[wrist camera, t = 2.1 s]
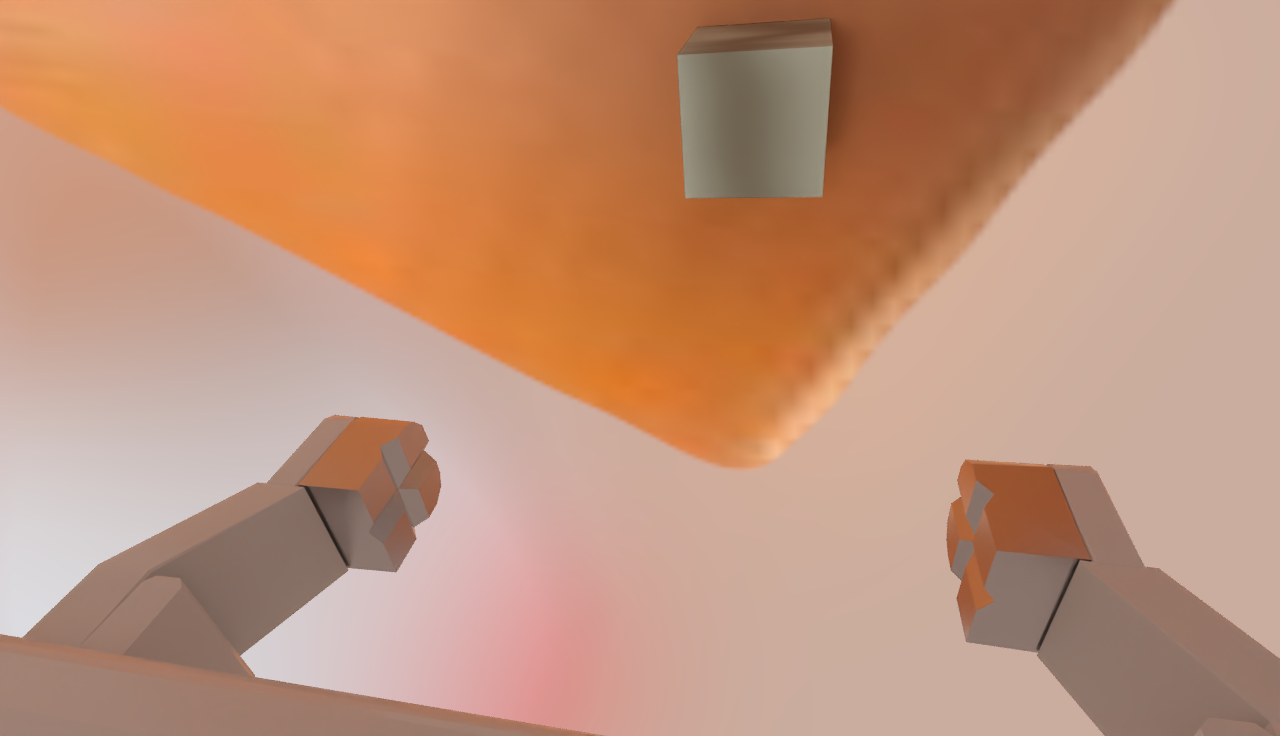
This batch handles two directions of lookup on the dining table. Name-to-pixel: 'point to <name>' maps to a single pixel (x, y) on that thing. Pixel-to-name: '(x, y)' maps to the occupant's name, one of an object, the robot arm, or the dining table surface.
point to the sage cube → (755, 109)
